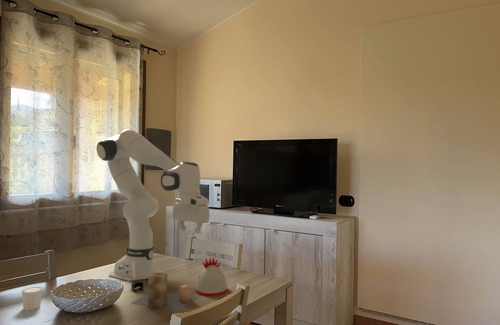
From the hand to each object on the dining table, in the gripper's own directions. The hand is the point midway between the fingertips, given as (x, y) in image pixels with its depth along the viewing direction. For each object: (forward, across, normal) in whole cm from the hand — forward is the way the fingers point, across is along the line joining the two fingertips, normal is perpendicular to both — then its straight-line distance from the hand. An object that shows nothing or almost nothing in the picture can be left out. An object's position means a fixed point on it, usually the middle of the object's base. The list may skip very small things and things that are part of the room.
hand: (190, 231), depth 156 cm
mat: (+27, -3, -11) cm, 29 cm away
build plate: (+28, -22, -12) cm, 37 cm away
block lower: (+27, -1, -16) cm, 31 cm away
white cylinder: (+26, -34, -50) cm, 66 cm away
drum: (+27, +4, -6) cm, 28 cm away
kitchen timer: (+28, +2, +10) cm, 30 cm away
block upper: (+21, -1, -16) cm, 26 cm away
